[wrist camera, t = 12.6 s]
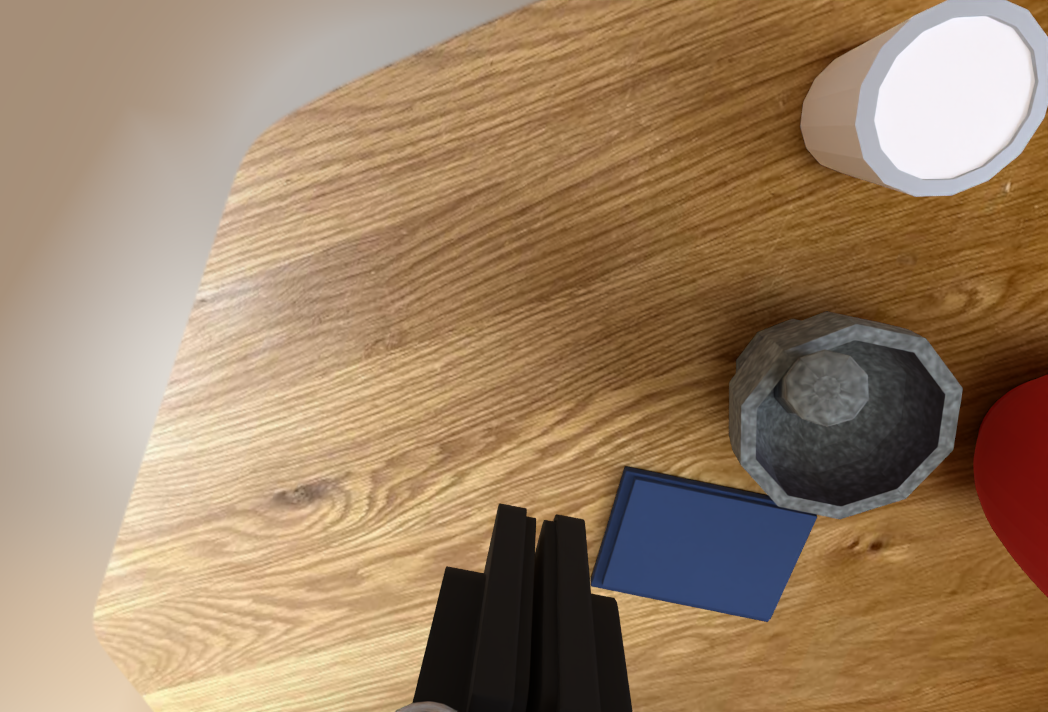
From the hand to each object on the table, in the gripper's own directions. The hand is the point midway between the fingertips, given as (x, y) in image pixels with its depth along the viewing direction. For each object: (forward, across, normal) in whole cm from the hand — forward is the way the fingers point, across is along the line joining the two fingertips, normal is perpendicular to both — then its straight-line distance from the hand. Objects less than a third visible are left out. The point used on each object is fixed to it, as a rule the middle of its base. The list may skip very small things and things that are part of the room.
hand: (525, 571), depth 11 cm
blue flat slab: (+21, -13, +14) cm, 29 cm away
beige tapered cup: (+22, -13, -12) cm, 28 cm away
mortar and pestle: (+22, -14, +1) cm, 26 cm away
